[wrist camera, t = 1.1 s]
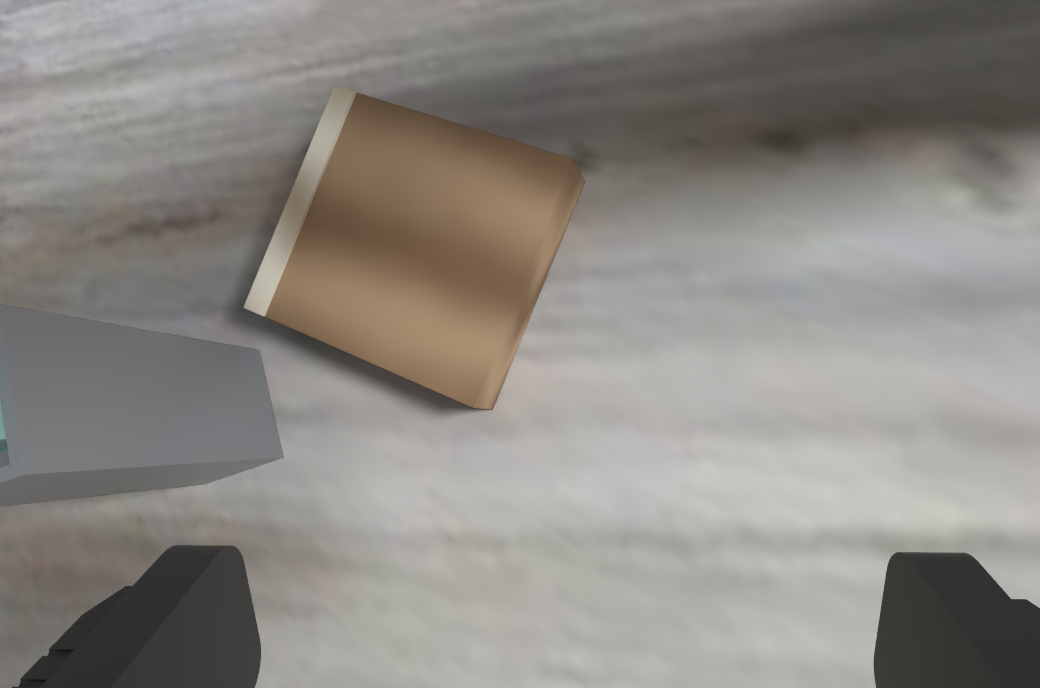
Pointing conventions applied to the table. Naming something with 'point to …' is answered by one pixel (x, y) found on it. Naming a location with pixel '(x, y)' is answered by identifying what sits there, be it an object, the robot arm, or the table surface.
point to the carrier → (124, 409)
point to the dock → (416, 244)
